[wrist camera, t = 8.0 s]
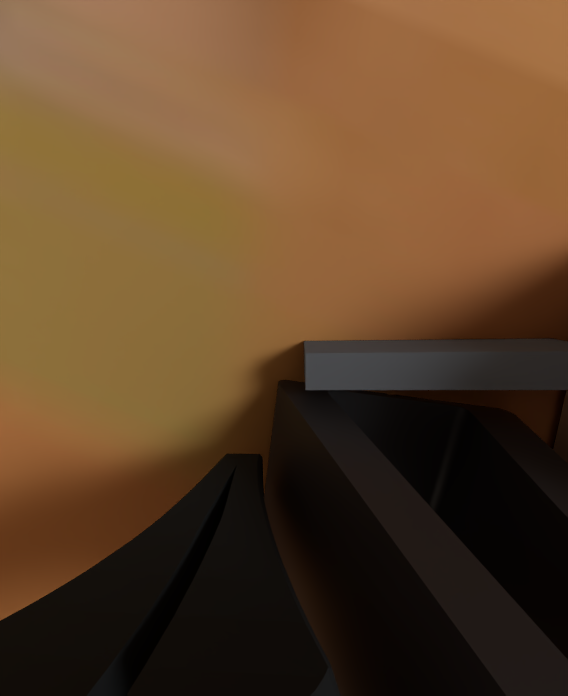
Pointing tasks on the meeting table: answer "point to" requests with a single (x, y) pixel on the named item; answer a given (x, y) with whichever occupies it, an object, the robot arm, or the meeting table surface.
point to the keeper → (437, 364)
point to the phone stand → (422, 542)
